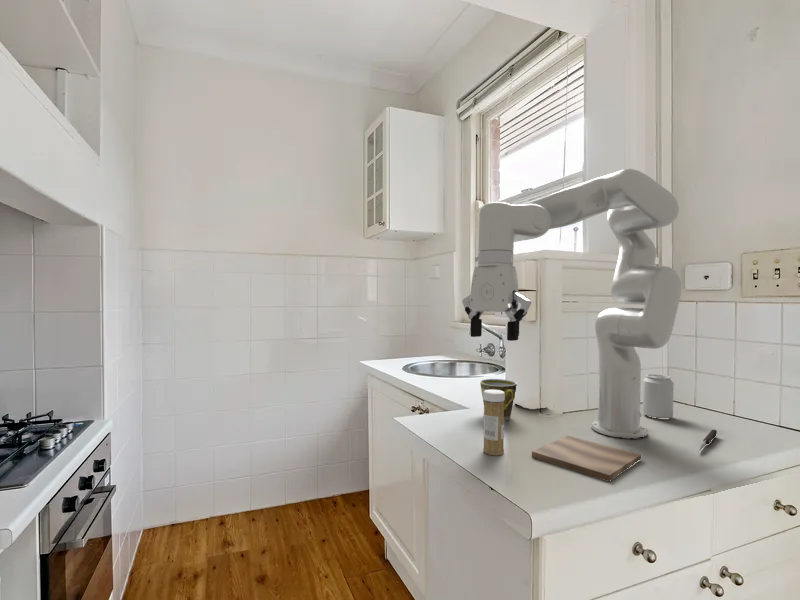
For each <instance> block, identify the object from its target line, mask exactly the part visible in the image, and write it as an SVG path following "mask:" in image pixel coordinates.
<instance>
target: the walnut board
mask: <svg viewBox="0 0 800 600" xmlns="http://www.w3.org/2000/svg"><path fill="white" fill-rule="evenodd" d="M531 458H534V459H537V460H540V461H544V462H546V463H550V464H552V465H556V466H560V467H562V468H565V469H568V470H572V471H575V472H578V473H582V474H583V475H587V476H590V477H594V478H596V477H597V479H600V478H601V479H600V480H603V479H604V481H606V480H608V481H607V482H609V481H610V480H611V481H612V479H613V478H614V477H616V476H617V475H618V474H620V473H621V472H623V471H624V470H626V469H627V468H629V467H630V466H631V465H633V464H634V463H635V462H637V461H638V460H640V459H641V460H642V454H641V453H637V452H633V451H628V450H624V449H620V448H619V447H613V446H610V445H609V446H608V445H606V444H602V443H598V442H594V441H589V440H587V439H582V438H578V437H574V436H572V435H571V436H570V435H566V436H564V437H561V438H560V439H557V440H555V441H553V442H550V443H548V444H546V445H543V446H541V447H539V448H536V449H534V450H532V451H531ZM633 466H634V465H633ZM629 469H630V468H629ZM626 471H627V470H626ZM623 473H624V472H623ZM620 475H621V474H620ZM617 477H618V476H617ZM617 477H616V478H617ZM614 479H615V478H614ZM614 479H613V480H614ZM611 481H610V482H611Z"/></svg>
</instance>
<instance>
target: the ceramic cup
mask: <svg viewBox="0 0 800 600" xmlns="http://www.w3.org/2000/svg"><path fill="white" fill-rule="evenodd" d="M516 386H517V382H515V381H513V380H509V379H503V378H502V379H501V378H499V379H498V378H488V379H482V380H481V381H480V391H481V396H482V402H483V404H484V399H483V393H484V391H485V390H490V389H494V390H501V391H503V392H504V393H505V400H504V422H505V421H508V420H510V419H511V415H512V411H513V410H512V409H513V405H514V401H515V392H516Z"/></svg>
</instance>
